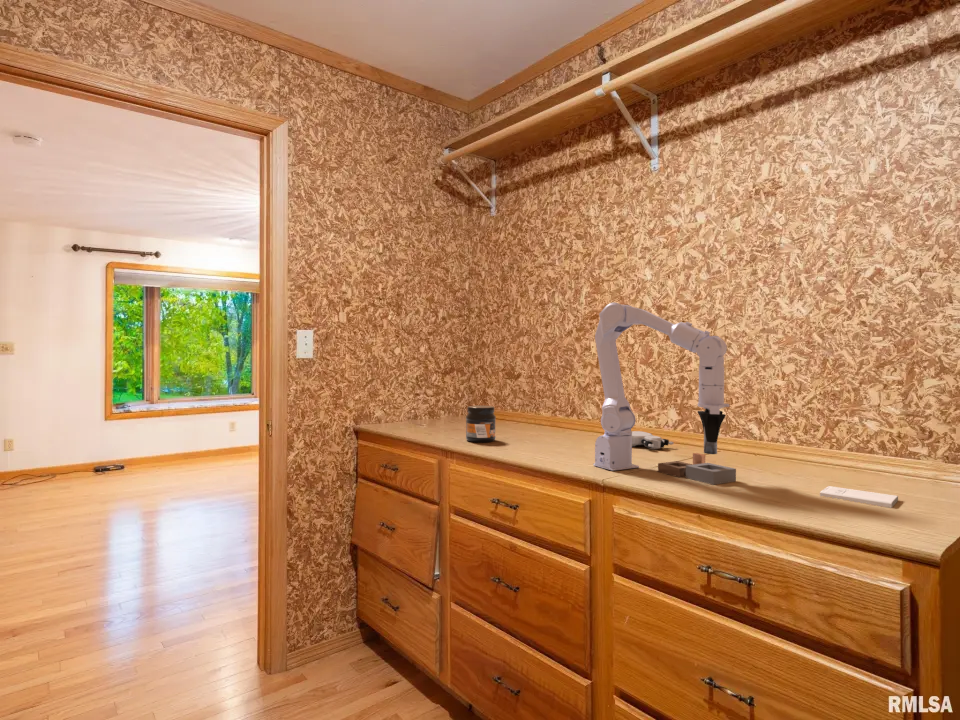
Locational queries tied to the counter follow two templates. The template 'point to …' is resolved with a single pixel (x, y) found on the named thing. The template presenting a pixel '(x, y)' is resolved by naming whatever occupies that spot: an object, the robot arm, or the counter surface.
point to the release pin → (698, 458)
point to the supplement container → (480, 424)
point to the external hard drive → (860, 496)
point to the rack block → (711, 473)
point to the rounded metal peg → (709, 446)
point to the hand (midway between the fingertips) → (710, 441)
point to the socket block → (673, 468)
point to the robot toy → (648, 440)
